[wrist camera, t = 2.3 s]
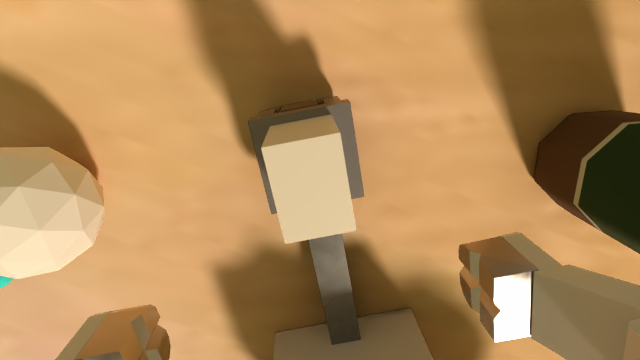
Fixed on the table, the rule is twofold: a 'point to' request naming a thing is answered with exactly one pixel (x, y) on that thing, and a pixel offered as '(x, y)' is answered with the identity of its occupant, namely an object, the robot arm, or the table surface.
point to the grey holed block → (362, 355)
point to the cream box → (309, 168)
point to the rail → (333, 277)
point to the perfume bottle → (45, 211)
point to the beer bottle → (596, 171)
